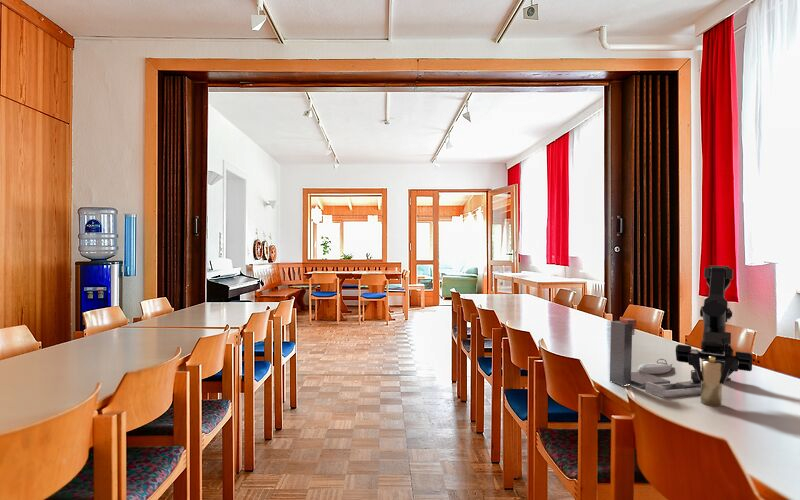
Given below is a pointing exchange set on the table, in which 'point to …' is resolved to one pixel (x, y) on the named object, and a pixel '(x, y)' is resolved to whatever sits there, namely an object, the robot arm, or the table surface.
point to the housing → (711, 382)
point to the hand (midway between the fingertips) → (711, 381)
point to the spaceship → (655, 367)
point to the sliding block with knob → (690, 382)
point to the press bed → (626, 356)
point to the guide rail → (669, 390)
